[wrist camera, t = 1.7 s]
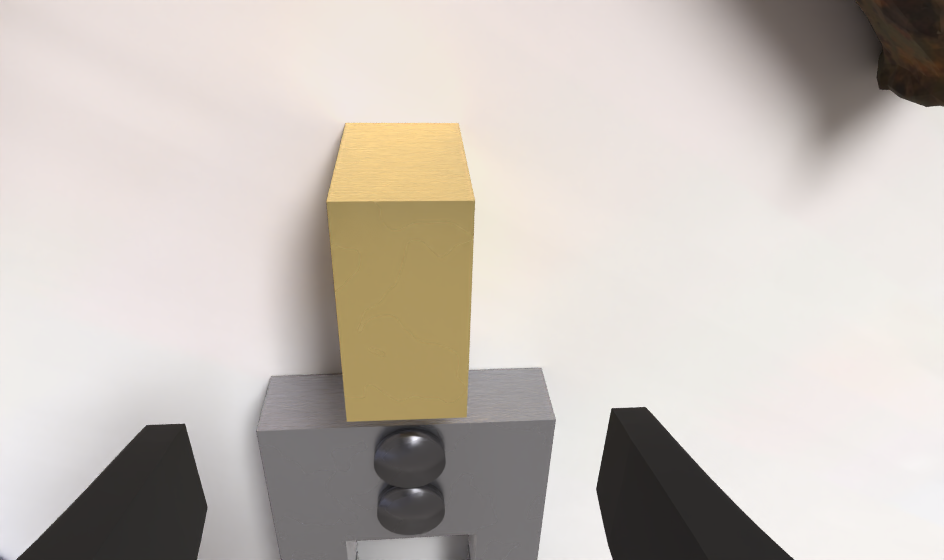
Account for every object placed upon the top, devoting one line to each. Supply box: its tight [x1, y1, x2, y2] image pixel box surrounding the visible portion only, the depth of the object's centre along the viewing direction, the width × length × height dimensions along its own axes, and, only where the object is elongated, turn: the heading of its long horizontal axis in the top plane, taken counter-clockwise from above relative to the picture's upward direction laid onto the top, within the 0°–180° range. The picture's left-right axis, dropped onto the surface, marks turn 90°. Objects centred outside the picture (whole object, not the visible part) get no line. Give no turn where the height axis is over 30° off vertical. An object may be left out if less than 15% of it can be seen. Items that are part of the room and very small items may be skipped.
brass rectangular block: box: [326, 123, 475, 422], centre depth 17 cm, size 6×3×5 cm, turn 178°
